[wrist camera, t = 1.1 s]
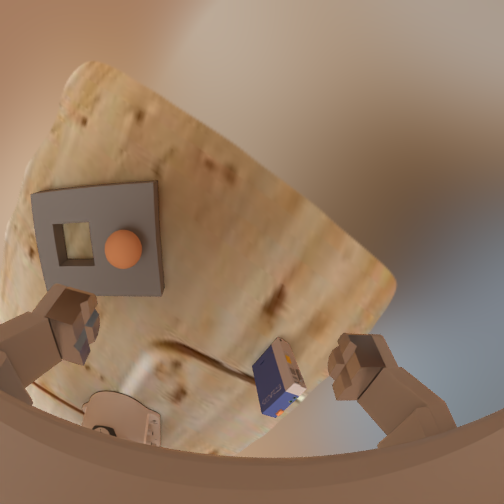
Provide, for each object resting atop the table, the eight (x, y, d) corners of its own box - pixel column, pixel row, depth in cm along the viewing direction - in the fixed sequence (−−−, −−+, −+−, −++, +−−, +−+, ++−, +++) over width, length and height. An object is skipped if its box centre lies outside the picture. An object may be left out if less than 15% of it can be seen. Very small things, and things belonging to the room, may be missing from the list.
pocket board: (164, 287, 42) (161, 296, 40) (55, 286, 40) (47, 293, 37) (157, 180, 37) (153, 182, 34) (40, 191, 35) (30, 194, 32)
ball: (147, 260, 38) (138, 275, 33) (114, 261, 37) (102, 275, 32) (144, 224, 36) (134, 235, 31) (109, 226, 35) (96, 236, 31)
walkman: (264, 371, 50) (276, 419, 39) (252, 366, 49) (261, 415, 38) (290, 342, 49) (309, 389, 37) (278, 336, 48) (295, 384, 37)
